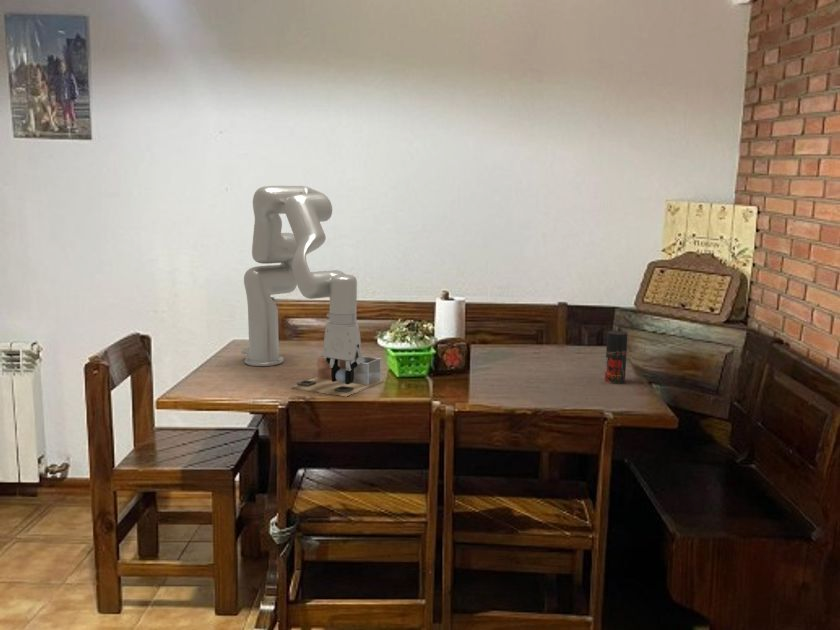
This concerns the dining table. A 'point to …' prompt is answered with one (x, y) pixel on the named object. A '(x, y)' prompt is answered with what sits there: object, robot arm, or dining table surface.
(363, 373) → the stand
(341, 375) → the slate ball
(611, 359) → the deodorant
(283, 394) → the dining table surface
